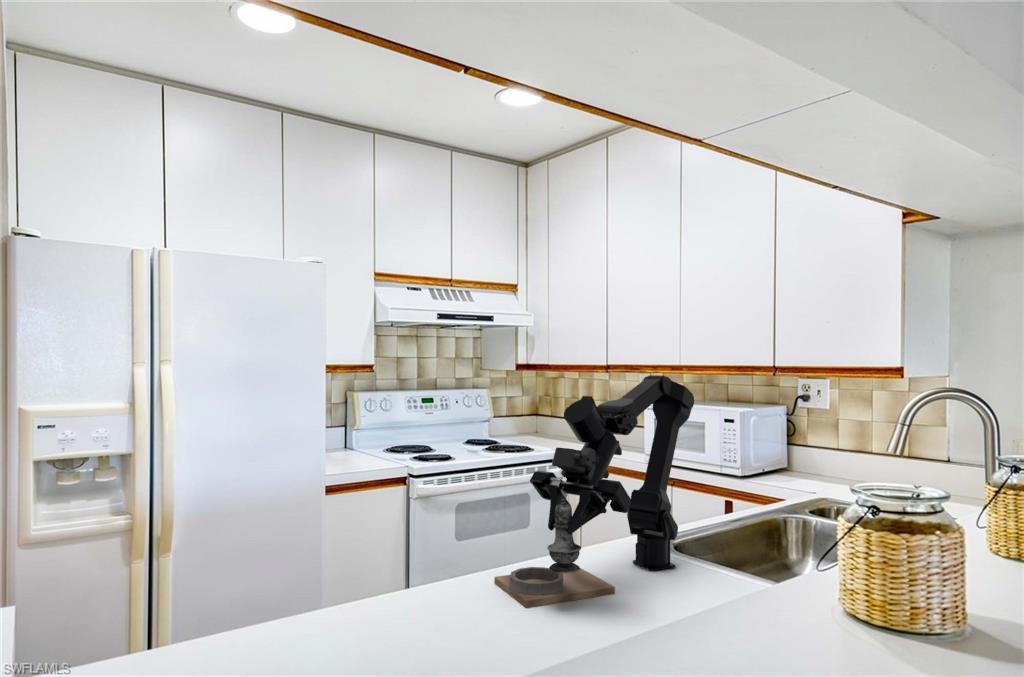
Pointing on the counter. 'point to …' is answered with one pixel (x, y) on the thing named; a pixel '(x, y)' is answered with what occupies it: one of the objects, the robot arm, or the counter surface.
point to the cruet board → (551, 586)
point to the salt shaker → (563, 542)
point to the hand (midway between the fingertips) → (558, 530)
